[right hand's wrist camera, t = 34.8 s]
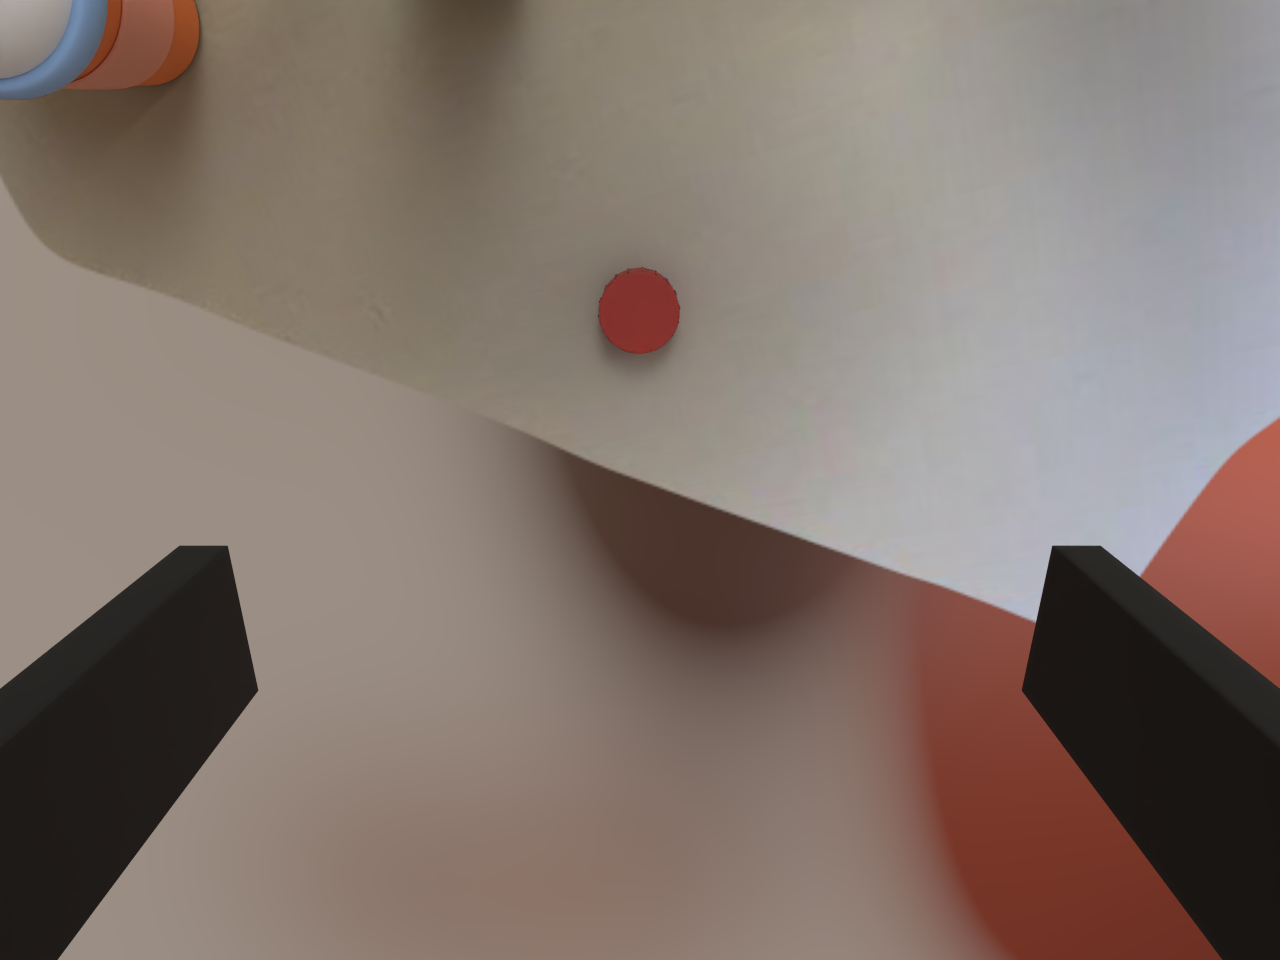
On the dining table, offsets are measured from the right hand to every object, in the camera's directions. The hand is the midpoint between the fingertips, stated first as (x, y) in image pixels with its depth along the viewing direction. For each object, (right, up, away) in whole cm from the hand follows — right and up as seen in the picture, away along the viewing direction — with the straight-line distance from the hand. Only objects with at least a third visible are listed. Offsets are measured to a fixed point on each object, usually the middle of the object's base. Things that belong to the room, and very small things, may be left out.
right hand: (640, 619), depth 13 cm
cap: (0, +11, +29) cm, 31 cm away
